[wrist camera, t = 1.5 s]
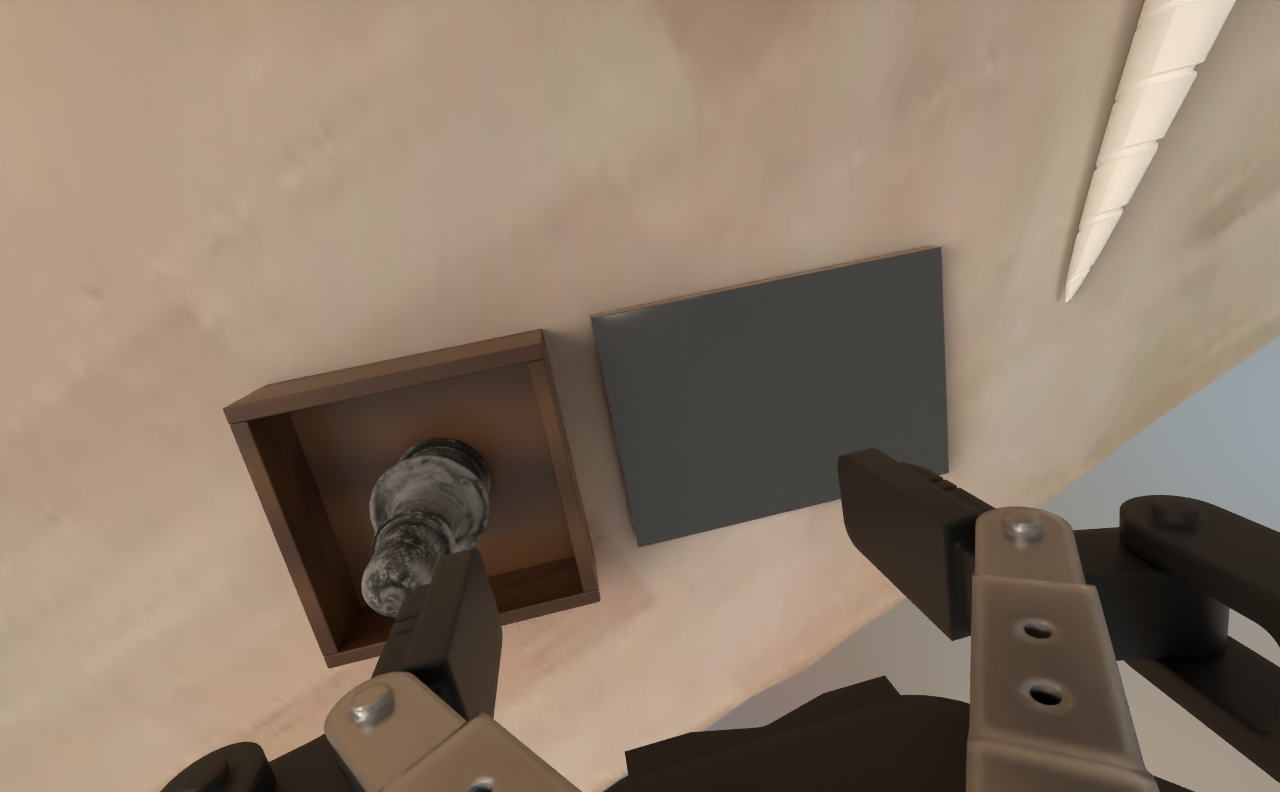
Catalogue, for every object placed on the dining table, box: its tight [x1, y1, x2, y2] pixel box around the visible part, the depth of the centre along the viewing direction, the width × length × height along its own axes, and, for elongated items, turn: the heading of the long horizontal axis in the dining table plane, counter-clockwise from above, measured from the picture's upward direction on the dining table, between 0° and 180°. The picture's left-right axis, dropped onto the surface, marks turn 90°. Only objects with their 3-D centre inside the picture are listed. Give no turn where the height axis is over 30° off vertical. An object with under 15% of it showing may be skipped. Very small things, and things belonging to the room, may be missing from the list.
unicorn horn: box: [1065, 0, 1236, 302], centre depth 31 cm, size 5×24×5 cm, turn 167°
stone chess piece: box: [361, 438, 491, 617], centre depth 28 cm, size 6×6×12 cm
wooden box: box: [223, 329, 600, 668], centre depth 32 cm, size 15×15×4 cm
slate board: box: [590, 246, 949, 547], centre depth 35 cm, size 14×20×1 cm
